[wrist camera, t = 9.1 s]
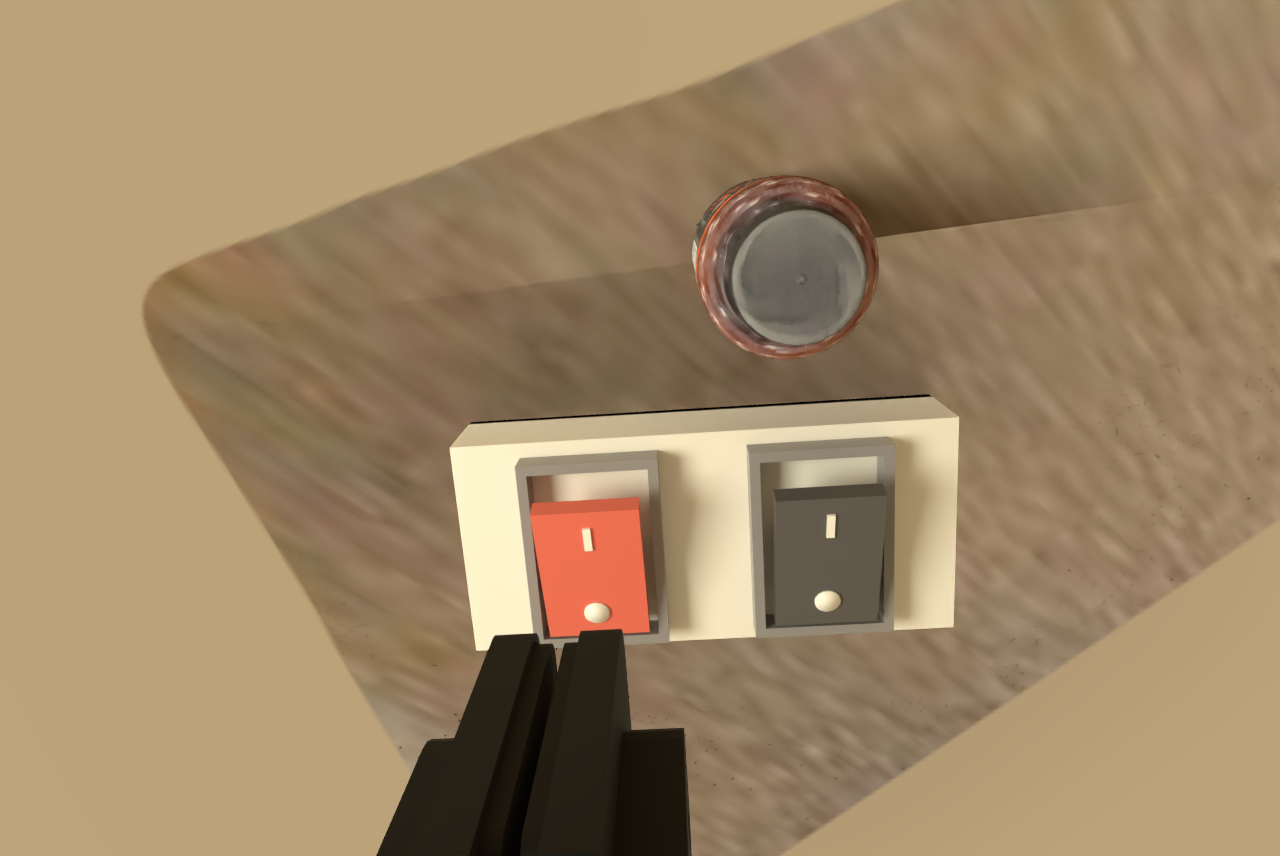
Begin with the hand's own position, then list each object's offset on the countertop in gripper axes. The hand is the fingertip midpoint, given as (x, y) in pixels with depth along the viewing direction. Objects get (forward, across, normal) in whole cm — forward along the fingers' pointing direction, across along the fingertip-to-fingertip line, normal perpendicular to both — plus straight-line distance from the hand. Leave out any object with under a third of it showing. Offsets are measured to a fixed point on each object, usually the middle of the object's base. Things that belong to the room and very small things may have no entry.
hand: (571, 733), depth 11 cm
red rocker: (+22, +2, +7) cm, 23 cm away
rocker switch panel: (+27, -2, +7) cm, 28 cm away
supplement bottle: (+27, -6, -4) cm, 28 cm away
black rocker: (+22, -7, +7) cm, 24 cm away
